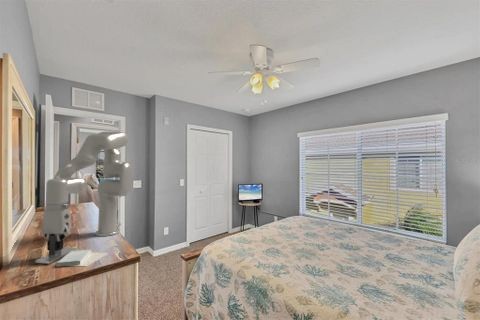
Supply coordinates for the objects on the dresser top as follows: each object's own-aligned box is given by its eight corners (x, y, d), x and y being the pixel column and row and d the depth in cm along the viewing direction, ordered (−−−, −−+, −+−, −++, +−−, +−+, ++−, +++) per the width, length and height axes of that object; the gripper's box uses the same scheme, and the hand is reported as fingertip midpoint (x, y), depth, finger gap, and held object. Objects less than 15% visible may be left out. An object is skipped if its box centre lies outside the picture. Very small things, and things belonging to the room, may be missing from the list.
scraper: (35, 262, 88) (36, 240, 89) (66, 249, 102) (67, 230, 102) (48, 263, 88) (50, 240, 88) (77, 250, 102) (78, 231, 102)
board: (85, 252, 101) (86, 251, 101) (108, 253, 100) (108, 253, 100) (60, 265, 88) (60, 264, 88) (86, 266, 87) (86, 266, 87)
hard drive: (80, 260, 88) (91, 249, 100) (56, 262, 86) (70, 250, 98) (80, 264, 88) (91, 252, 100) (55, 267, 86) (70, 254, 98)
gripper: (81, 206, 99) (79, 247, 98) (48, 204, 100) (46, 245, 100) (66, 209, 91) (64, 253, 91) (31, 208, 93) (29, 251, 92)
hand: (55, 248), depth 95 cm, fingers closed on scraper, 3 cm apart
